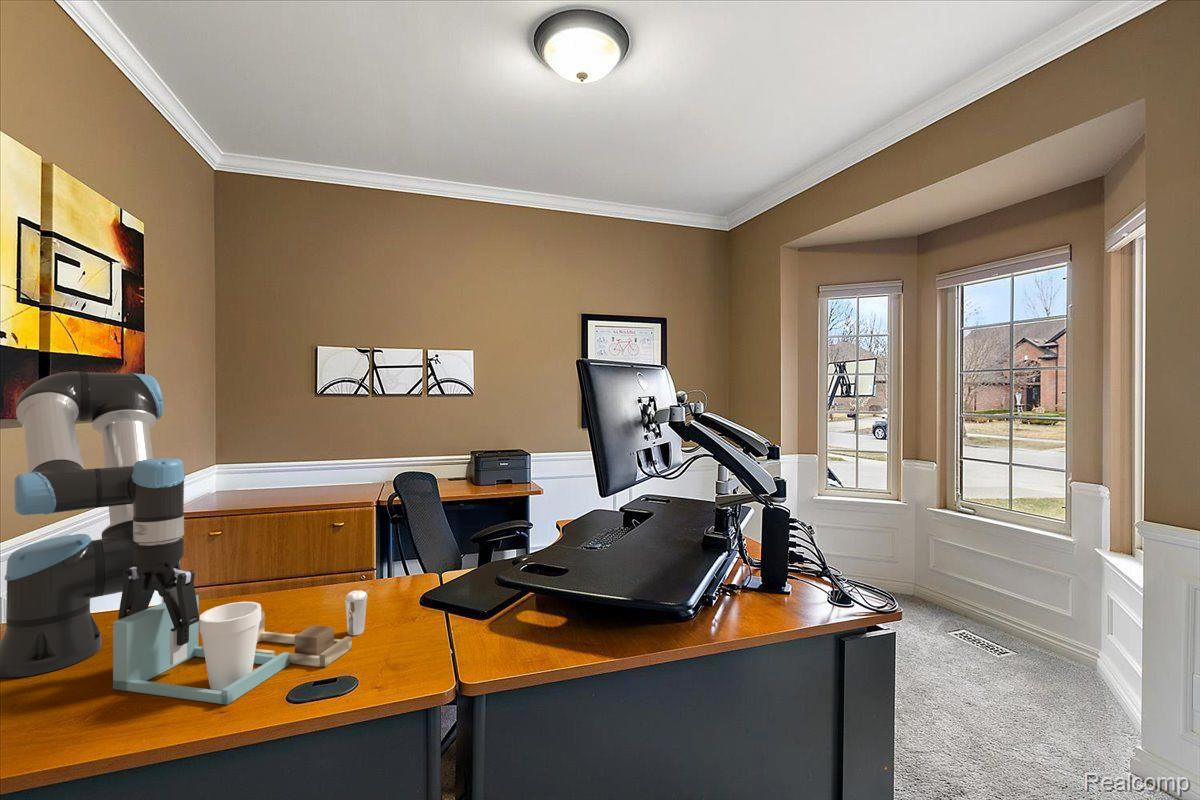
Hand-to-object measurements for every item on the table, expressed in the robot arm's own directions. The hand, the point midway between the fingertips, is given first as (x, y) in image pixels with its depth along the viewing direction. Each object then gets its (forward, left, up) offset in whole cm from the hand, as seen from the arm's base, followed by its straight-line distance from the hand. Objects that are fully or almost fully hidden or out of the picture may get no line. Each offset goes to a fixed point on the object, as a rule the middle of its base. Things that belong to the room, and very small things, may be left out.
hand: (158, 658), depth 102 cm
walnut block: (+25, +11, -2) cm, 27 cm away
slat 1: (+12, +11, -2) cm, 17 cm away
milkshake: (+27, +22, -3) cm, 35 cm away
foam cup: (+17, 0, -3) cm, 17 cm away
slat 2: (+25, +11, -2) cm, 28 cm away
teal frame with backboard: (+11, 0, -2) cm, 11 cm away
